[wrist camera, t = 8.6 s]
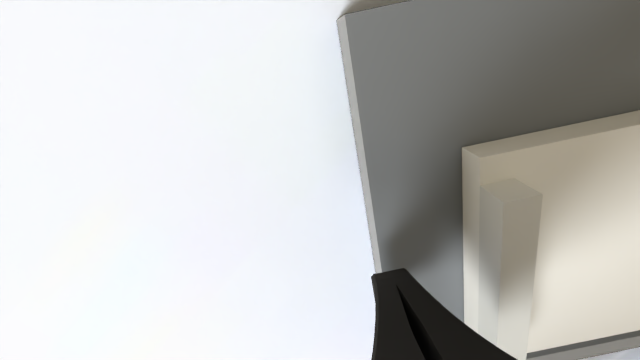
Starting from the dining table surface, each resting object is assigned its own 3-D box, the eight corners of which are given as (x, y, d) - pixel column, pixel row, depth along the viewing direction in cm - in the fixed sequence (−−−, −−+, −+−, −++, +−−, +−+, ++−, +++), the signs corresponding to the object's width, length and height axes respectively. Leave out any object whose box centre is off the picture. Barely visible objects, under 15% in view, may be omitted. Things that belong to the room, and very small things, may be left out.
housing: (748, 272, 18) (831, 313, 15) (387, 346, 18) (403, 400, 15) (914, -103, 11) (1122, -155, 8) (336, 20, 11) (349, 10, 8)
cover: (646, 303, 15) (709, 348, 13) (464, 340, 15) (494, 392, 13) (707, 95, 11) (815, 107, 9) (461, 147, 11) (505, 172, 9)
